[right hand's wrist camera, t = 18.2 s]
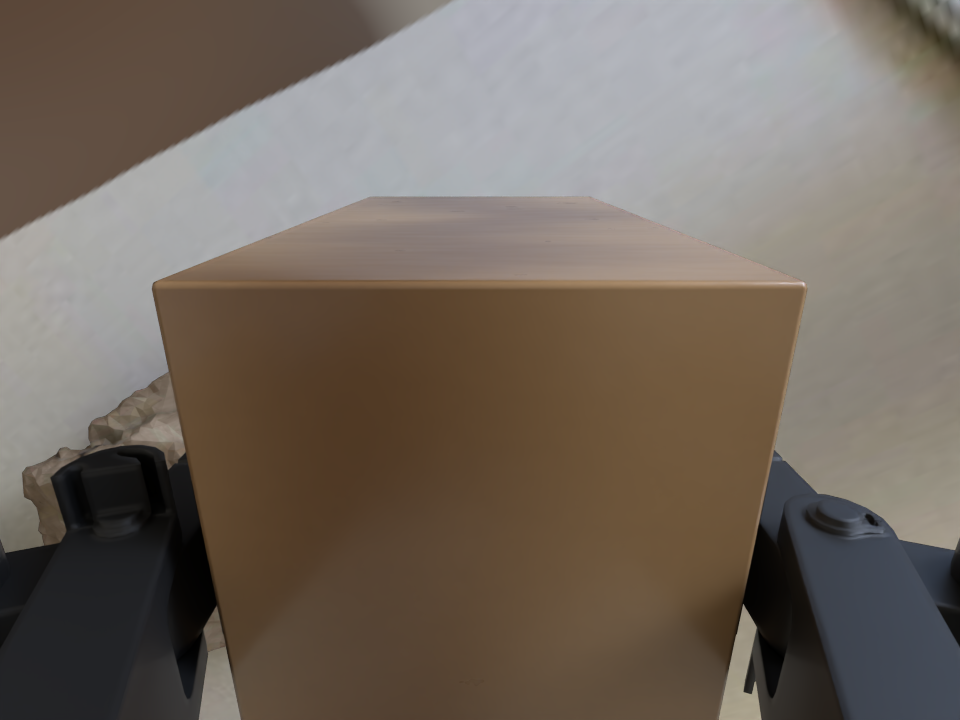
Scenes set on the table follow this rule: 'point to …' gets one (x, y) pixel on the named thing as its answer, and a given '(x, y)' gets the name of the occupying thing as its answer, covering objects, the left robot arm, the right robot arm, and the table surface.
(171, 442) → the stone
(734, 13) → the table surface
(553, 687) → the wooden block
